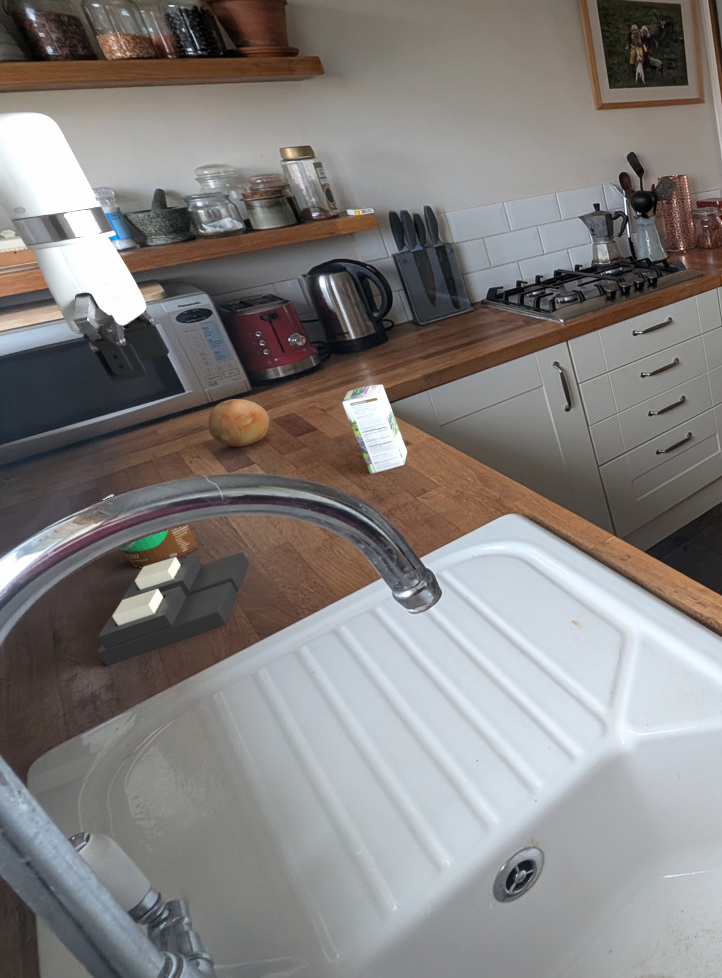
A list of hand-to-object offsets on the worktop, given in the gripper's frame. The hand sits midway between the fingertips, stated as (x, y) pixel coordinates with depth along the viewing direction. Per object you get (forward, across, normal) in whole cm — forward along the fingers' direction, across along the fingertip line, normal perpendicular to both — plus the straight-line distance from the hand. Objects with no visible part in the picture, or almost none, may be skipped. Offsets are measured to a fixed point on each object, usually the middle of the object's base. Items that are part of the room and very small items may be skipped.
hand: (143, 367), depth 84 cm
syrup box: (+32, -24, +17) cm, 44 cm away
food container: (+32, -14, -15) cm, 38 cm away
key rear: (+28, +1, -9) cm, 29 cm away
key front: (+28, +9, -9) cm, 31 cm away
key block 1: (+31, +1, -7) cm, 32 cm away
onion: (+32, -58, -9) cm, 67 cm away
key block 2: (+31, +9, -7) cm, 34 cm away
